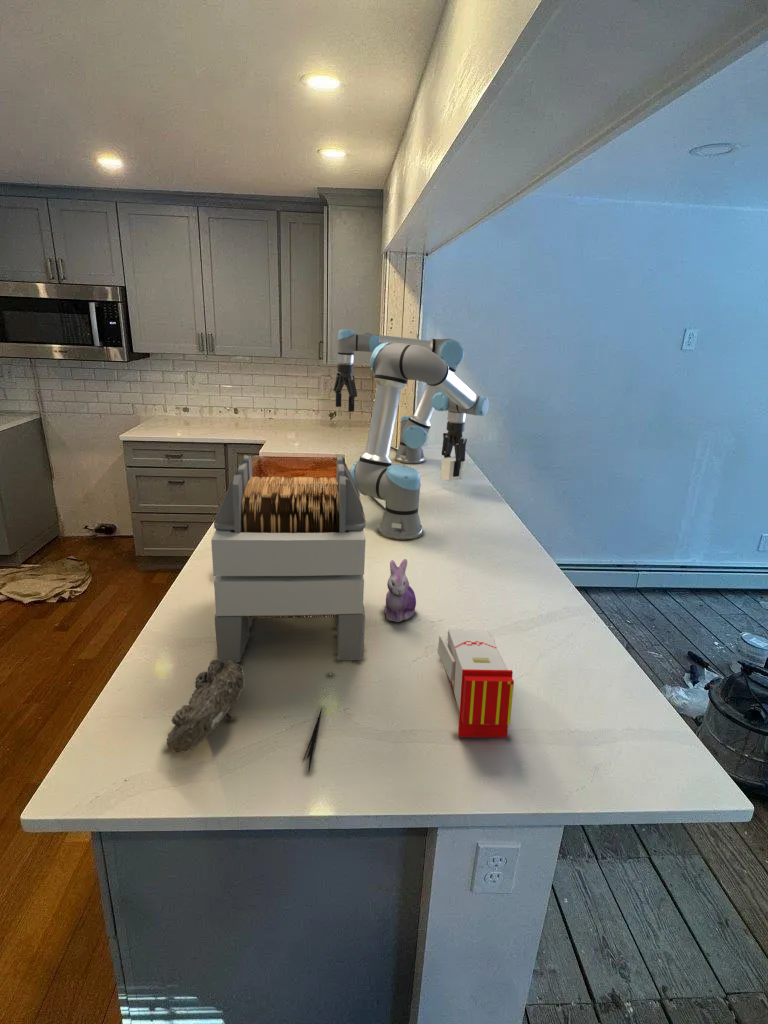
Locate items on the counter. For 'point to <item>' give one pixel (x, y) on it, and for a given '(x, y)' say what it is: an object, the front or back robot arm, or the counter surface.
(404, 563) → the figurine
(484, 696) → the toy
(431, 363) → the front robot arm
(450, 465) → the block
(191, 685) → the counter surface
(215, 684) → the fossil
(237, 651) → the record storage crate
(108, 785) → the counter surface
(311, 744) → the feather
